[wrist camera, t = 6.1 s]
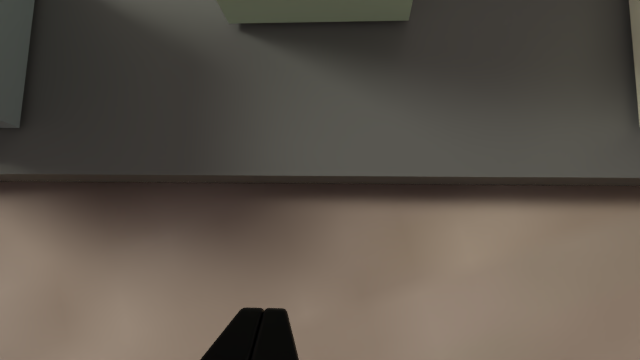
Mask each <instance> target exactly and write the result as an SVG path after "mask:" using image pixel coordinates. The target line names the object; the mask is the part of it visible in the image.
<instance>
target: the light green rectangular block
mask: <svg viewBox="0 0 640 360" xmlns="http://www.w3.org/2000/svg"><path fill="white" fill-rule="evenodd" d="M216 1H217V3H218V4H219V6H220V8H221V10H222V12H223V14H224V16H225V18H226V19H227V21H228V23H229V24H233V23H292V22H352V21H409V17H410V12H411V7H412V2H413V0H216Z"/></svg>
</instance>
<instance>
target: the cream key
mask: <svg viewBox="0 0 640 360" xmlns="http://www.w3.org/2000/svg"><path fill="white" fill-rule="evenodd" d="M629 8H630V20H631V32H632V43H633V55H634V67H635V78H636V90H637V101H638V113H639V125H640V0H629Z"/></svg>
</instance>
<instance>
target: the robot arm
mask: <svg viewBox="0 0 640 360" xmlns="http://www.w3.org/2000/svg"><path fill="white" fill-rule="evenodd" d="M201 360H299V358H298V354H297V350H296V346H295V342H294V338H293V334H292V330H291V326H290V322H289V318H288V314H287V311H286V310H285V309H282V308H267V309H265V311H264V310H263V309H262V308H243V309H241V310H240V311H239V312H238V313H237V315H236V316H235V317H234V318H233V320H232V321H231V322H230V323H229V325H228V326H227V327H226V328H225V330H224V331H223V332H222V333H221V335H220V336H219V337H218V338H217V340H216V341H215V342H214V343H213V345H212V346H211V347H210V348H209V350H208V351H207V352H206V353H205V355H204V356H203V357H202V358H201Z"/></svg>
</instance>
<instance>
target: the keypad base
mask: <svg viewBox="0 0 640 360" xmlns="http://www.w3.org/2000/svg"><path fill="white" fill-rule="evenodd" d="M0 181H63V182H201V183H339V184H476V185H614V186H640V125H639V113H638V101H637V90H636V78H635V67H634V55H633V43H632V32H631V20H630V8H629V0H413V2H412V7H411V12H410V17H409V21H352V22H292V23H233V24H229V23H228V21H227V19H226V18H225V16H224V14H223V12H222V10H221V8H220V6H219V4H218V3H217V1H216V0H35V2H34V10H33V18H32V27H31V35H30V43H29V52H28V60H27V68H26V77H25V85H24V93H23V102H22V110H21V118H20V127H19V128H0Z"/></svg>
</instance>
